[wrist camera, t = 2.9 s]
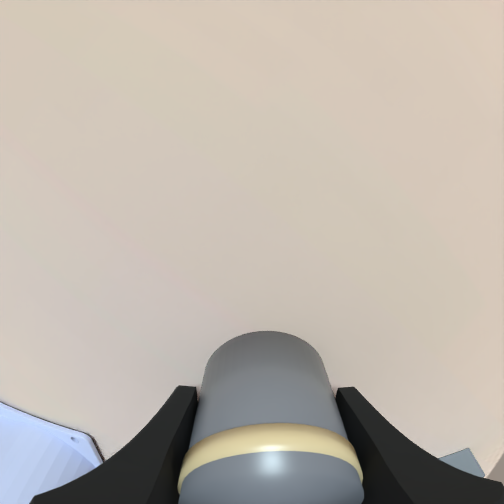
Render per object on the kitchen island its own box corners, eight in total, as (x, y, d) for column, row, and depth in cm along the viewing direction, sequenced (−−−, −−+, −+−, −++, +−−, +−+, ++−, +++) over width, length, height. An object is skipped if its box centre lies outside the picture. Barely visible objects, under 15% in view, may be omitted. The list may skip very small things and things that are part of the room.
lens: (205, 420, 12) (186, 536, 6) (198, 325, 11) (158, 461, 5) (317, 421, 12) (341, 533, 6) (336, 328, 11) (395, 455, 5)
